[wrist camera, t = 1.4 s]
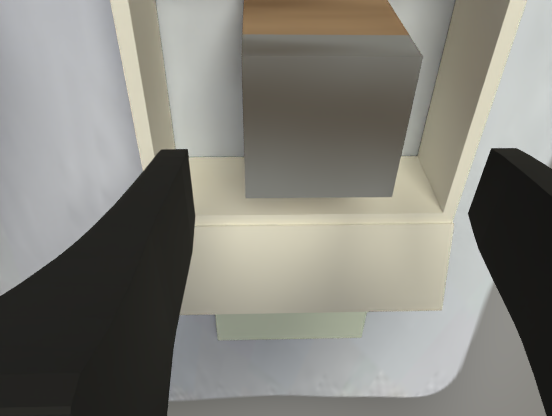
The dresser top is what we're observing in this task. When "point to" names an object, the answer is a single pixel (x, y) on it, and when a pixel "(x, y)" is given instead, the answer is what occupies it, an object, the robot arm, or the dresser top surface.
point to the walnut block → (325, 97)
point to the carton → (329, 211)
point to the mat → (290, 325)
